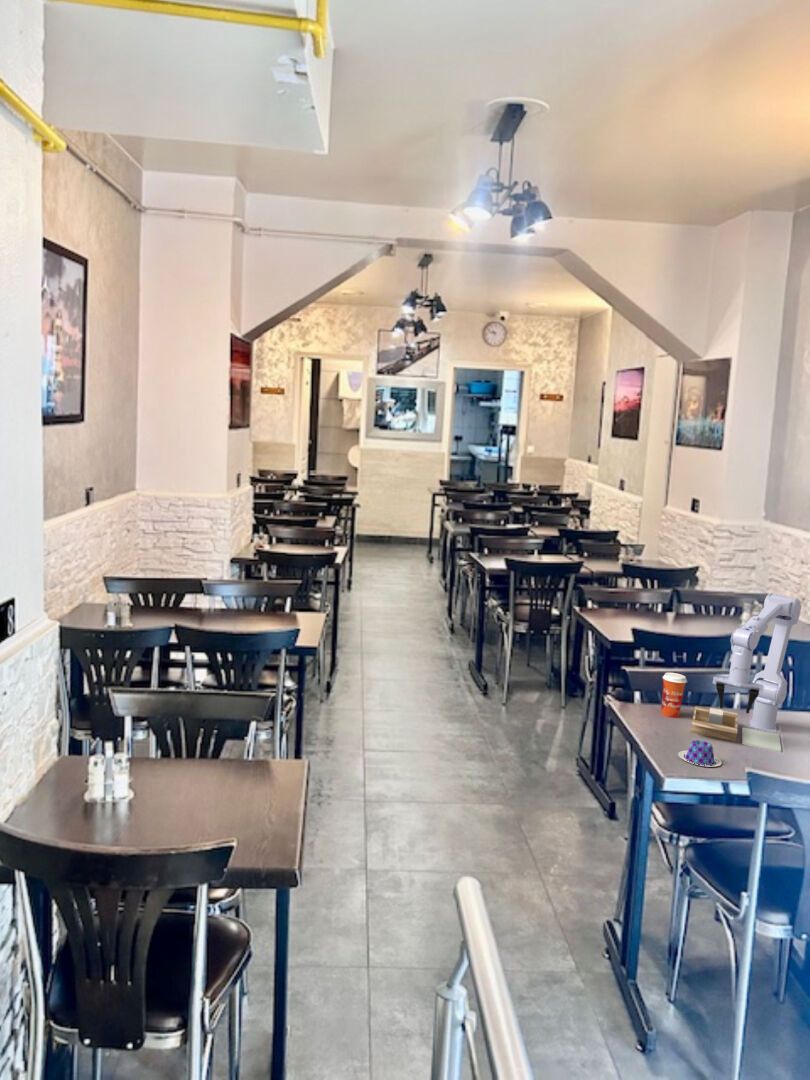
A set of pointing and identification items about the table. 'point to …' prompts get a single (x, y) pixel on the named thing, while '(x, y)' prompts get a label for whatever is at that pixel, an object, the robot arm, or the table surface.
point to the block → (715, 716)
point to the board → (761, 739)
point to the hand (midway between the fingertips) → (734, 710)
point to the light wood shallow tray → (714, 730)
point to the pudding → (700, 754)
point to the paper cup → (672, 694)
